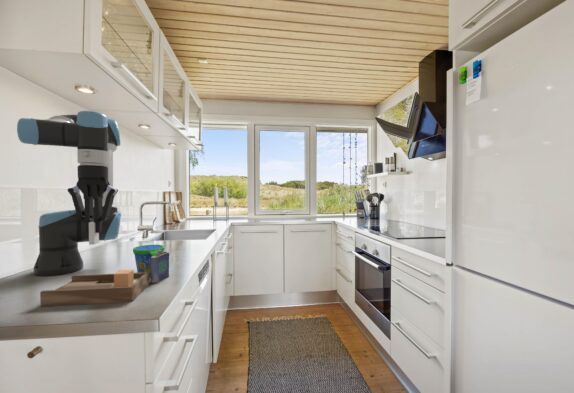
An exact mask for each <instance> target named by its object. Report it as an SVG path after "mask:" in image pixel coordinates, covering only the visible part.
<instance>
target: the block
mask: <svg viewBox="0 0 574 393" xmlns="http://www.w3.org/2000/svg"><path fill="white" fill-rule="evenodd" d="M134 273H135V272H134V269H124V270H121V269H120V270H118V271H116V272H115V273H113V274H114V287H128V286H130V285H131V284H132V283H134Z"/></svg>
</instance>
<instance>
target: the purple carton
mask: <svg viewBox="0 0 574 393" xmlns="http://www.w3.org/2000/svg"><path fill="white" fill-rule="evenodd" d="M156 251H157V250H156ZM161 251H162V250H159V249H158V252H157V255H155V256H152V257H151V276H150V285H152V284H154V285H155V284H157V283H158V284H159V283H160V282H161V281H164V280H166V279H168V278H169V277H170V252H168V251H165V250H164V251H163V252H161Z"/></svg>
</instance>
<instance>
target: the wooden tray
mask: <svg viewBox="0 0 574 393" xmlns="http://www.w3.org/2000/svg"><path fill="white" fill-rule="evenodd" d="M114 274H115V273H100V274H96V273H95V274H74V275H72V276H71V281H69V282H67V283H65V284H63V285H61V286H59V287H58V288H56V289H50V290H48V289H46V290H41V291H40V294H39V295H40V307H41V308H43V307H56V306H59V307H61V306H74V305H92V304H93V305H95V304H97V305H98V304H111V303H112V304H113V303H114V304H115V303H129V302H130V303H131V302H134V300H135V299H137V298H138V296H140V294H141V293H143V292H144V291H145V290H146V288H148V287H149V285H151V276H150V272H143V273H138V272H134V283H132V284H131V285H130V286H128V287H114Z"/></svg>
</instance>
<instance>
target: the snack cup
mask: <svg viewBox="0 0 574 393" xmlns="http://www.w3.org/2000/svg"><path fill="white" fill-rule="evenodd" d="M158 249H159V250H162V251H161V252H163V251H164V252H165V246H164V245H163V244H145V245H138V246H135V247H133V249H132V252H133V255H134V259H135V265H136V271H137V272H136V273H143V272H150V277H151V257H152V256H155V255H157V252H158ZM156 250H157V251H156Z"/></svg>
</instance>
